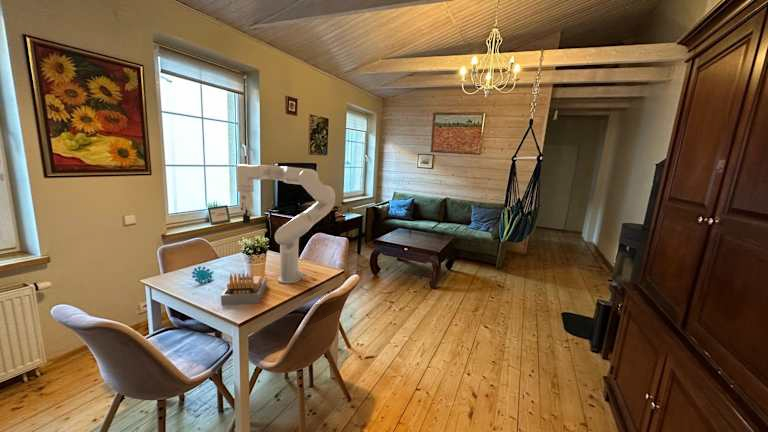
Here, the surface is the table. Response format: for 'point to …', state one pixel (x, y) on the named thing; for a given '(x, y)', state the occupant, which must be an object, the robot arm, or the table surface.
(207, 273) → the gear
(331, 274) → the table surface
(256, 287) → the slider
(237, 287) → the ammunition clip
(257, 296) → the grey shallow rimmed piece
